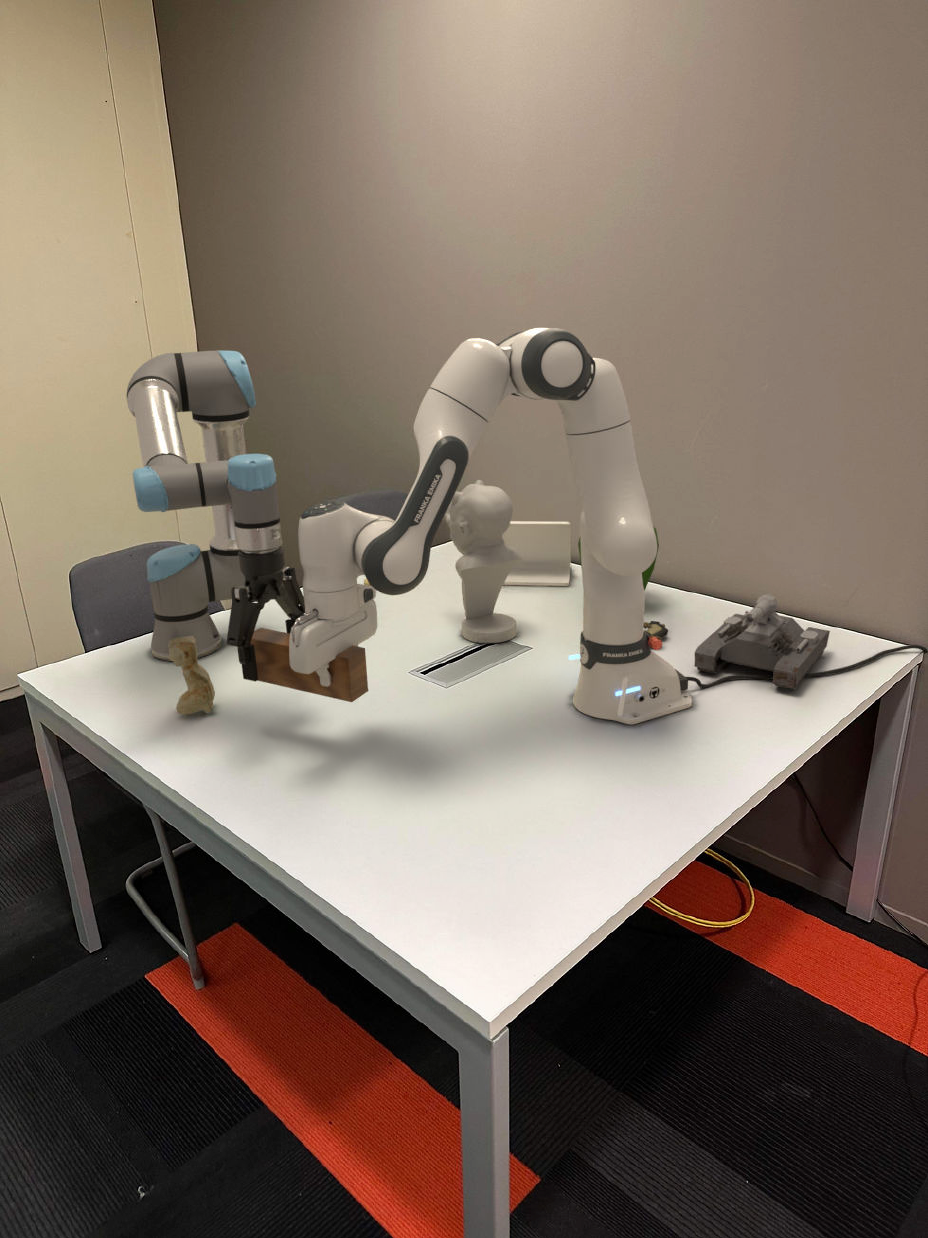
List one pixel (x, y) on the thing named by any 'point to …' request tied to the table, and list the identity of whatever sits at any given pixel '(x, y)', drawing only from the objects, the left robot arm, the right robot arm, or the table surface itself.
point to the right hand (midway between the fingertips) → (338, 677)
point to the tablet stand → (539, 553)
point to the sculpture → (191, 677)
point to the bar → (344, 668)
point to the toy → (764, 644)
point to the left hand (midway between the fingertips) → (274, 666)
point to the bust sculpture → (482, 558)
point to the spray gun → (656, 629)
